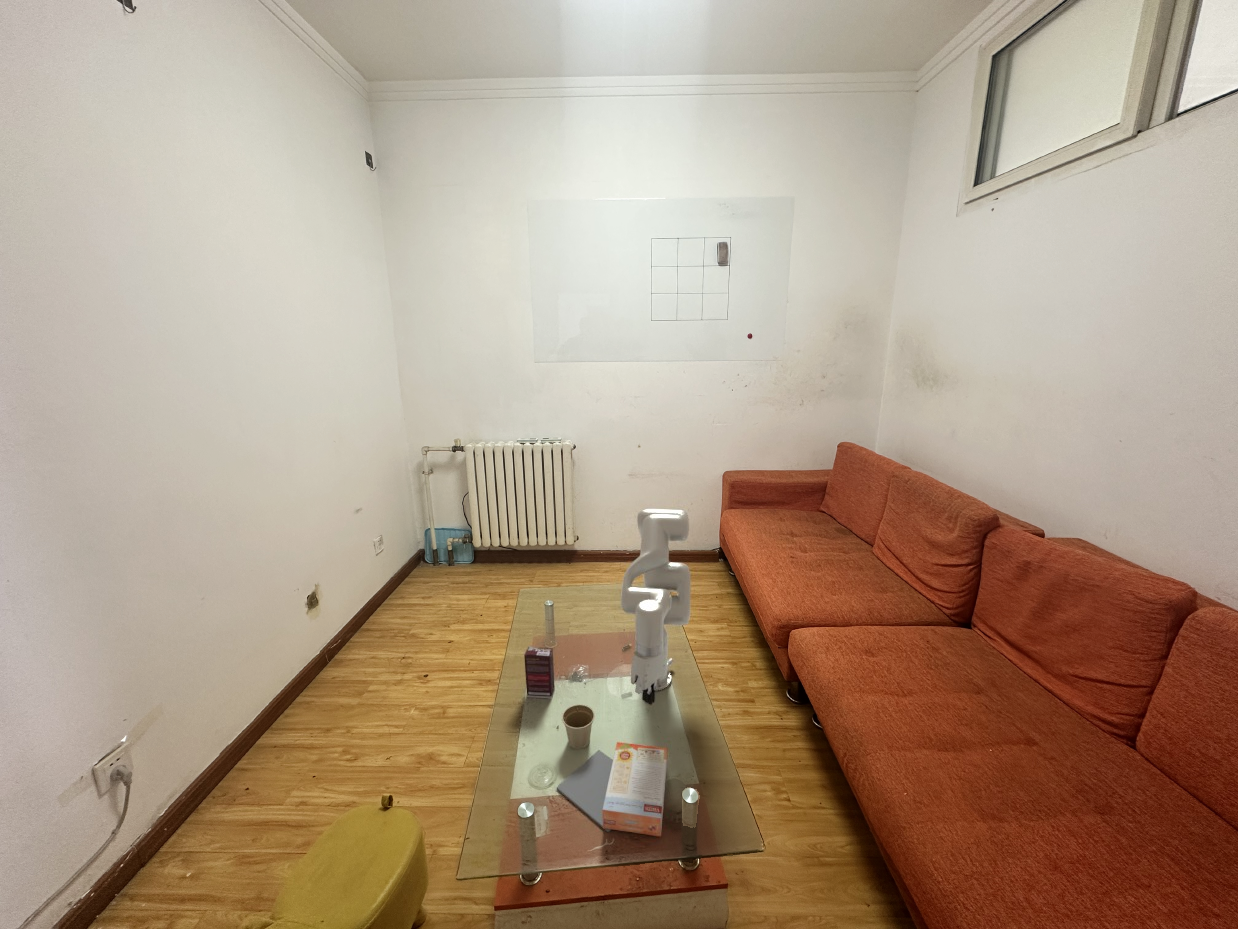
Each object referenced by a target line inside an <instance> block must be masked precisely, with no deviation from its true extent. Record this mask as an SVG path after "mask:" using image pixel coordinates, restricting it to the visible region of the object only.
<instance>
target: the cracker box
mask: <svg viewBox="0 0 1238 929" xmlns="http://www.w3.org/2000/svg"><path fill="white" fill-rule="evenodd" d="M614 749H615V751H614V755H613V758H612V760H613V763H612V768H611V772H610V777H609V782H608V786H607V791H606V796H605V800H604V805H603V809H602V811H603V828H607V829H611V830H616V831H621V832H628V833H633V834H634V833H635V834H640V835H642V834H643V835H646V836H647V835H648V836H654V837H661V836H662V825H663V817H664V816H663V813H664V802H665V791H666V778H667V777H666V776H667V765H668V764H667V763H668V761H667V760H668V748H667V747H662V746H661V747H660V746H652V745H646V744H645V745H643V744H636V743H635V744H634V743H628V742H620V741H618V742H616V745H615V748H614ZM603 828H602V829H603Z"/></svg>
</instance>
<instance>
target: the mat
mask: <svg viewBox="0 0 1238 929" xmlns="http://www.w3.org/2000/svg"><path fill="white" fill-rule="evenodd" d="M612 763H613V758H611V757H609V756H608V755H607V754H605V753H604V752H603V751H601V750H600V749H598V750H596V752H594V753H593V754H592V755H591V756H590V757H588V759H586V760H585V761H584V762H583V763H582V764H581V765H580V766H579V767H578V768H577V769H576V770H574V771H573V772H572V773H571V774H570V775H569V776H567V778H565V779H564V780H563V781H562V782H561V783H560V784H558V785H557V787H556V790H557V791H558V792H559V793H561V794H562V795H563V796H564V797H565V798H567V799H568V800H569V801H570V802H571V803H573V804H574V805H575V806H576V807H577V808H579V810H581V811H582V812H583V813H585V814H586V815H587V816H588V817H589V818H590V819H591V820H592V821H594V822H595V823H596V824H598V826H600V827H601V828H602V829H604V831H606V832H607V833H610V832H611V830H612V829H607V828H603V811H602V809H603V805H604V800H605V796H606V791H607V786H608V782H609V777H610V772H611V768H612Z"/></svg>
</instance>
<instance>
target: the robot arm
mask: <svg viewBox="0 0 1238 929" xmlns="http://www.w3.org/2000/svg"><path fill="white" fill-rule="evenodd" d="M636 518H637V519H636V520H637V521H636V522H637V523H636V524H637V527H638V528H637V529H638V531H639V535H640V538H641V542H640V543H641V544H640V553H639V556H638V557H637V558H636V559H634V560H633V561H632V562H631V564H629V566H628V567H627V569H626V570H625V572H624V573H623V574H624V575H623V578H622V585H621V592H620V594H621V595H620V607H621V609H622V611H623V612H625V613H626V614H628V615H629V614H630V615H635V627H634V628H635V631H634V632H635V636H634V637H635V638H634V639H635V651H634V652H633V656H632V661H631V671H630V683H631V684H632V685H633V686H634V684H635V687H634V688H635V690H634V691H635V693H636V694H638V695H640V694H642V696H641V697H642V698H641V700H642V701H643V702H645V703H647V704H648V705H650V706H652V705H653V704H654V703H655V701H656V698H655V697H656V692H658V690H659V691H662V689H663V690H664V688H665V687H667V686H668V685H669V684H670V685H671V683H670V682H672V675H670V674H671V672H670V671H669V668H670V666H672V664H674V659H673V658H672V657H670V658H668V650H669V641H668V639H669V634H668V631H667V628H666V626H667V625H669V626H686V625H687V624H688V623H689V622H690V618H691V587H692V586H691V582H692V580H691V571H690V568H689V566H688V564H686V563H683V562H676V561H675V562H673V561H672V562H671V561H670V557H669V555H670V548H669V542H685V541H686V540H687V539H688V536H689V531H690V523H689V520H690V519H689V515H688V512H687V511H685V510H684V509H683V510H682V509H666V508H664V509H663V508H646V509H642V510H640V511H639V512H638V513H637V517H636ZM641 575H643V576H642V577H643V579H642V580H643V586H633V583H634V581H635V580H636V579H637V578H638V577H640V576H641ZM671 592H675V593H676V595H675V594H671ZM665 625H666V626H665ZM668 678H670V679H668ZM670 685H669V686H670ZM669 686H668V687H669ZM668 687H667V688H668ZM665 689H666V688H665Z"/></svg>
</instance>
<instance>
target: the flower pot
mask: <svg viewBox="0 0 1238 929" xmlns="http://www.w3.org/2000/svg"><path fill="white" fill-rule="evenodd" d="M595 717H596V716H595V711H594V709H593V708H591V707H590V706H588V705H586V704H574V705H571V706H569V707H567V708H566V709H565V710H564V711H563V713H561V721H562V723H563V725H564V727H565V731H566V736H567V741H568V744H569V746H570V747H571V748H572V749H576V750H580V749H584V748H585V747H587V746H589V744H590V741H591V732H592V726H593V722H594V720H595Z"/></svg>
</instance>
